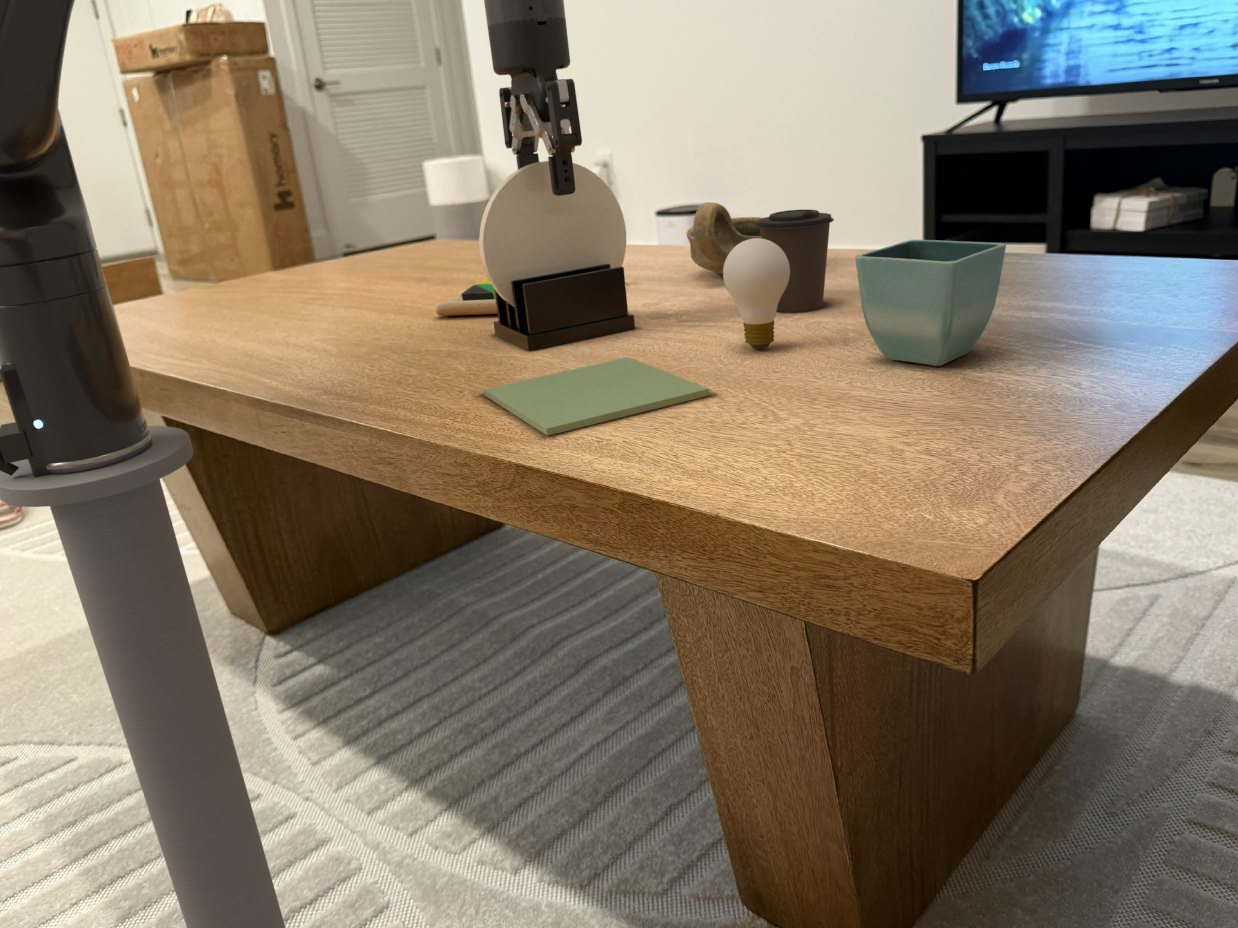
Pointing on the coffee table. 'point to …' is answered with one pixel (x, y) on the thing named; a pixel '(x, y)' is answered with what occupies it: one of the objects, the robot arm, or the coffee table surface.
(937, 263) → the flower pot
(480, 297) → the wooden puzzle
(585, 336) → the rack
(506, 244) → the plate
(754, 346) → the light bulb
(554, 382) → the mat
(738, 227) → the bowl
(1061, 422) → the coffee table surface
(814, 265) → the coffee cup
